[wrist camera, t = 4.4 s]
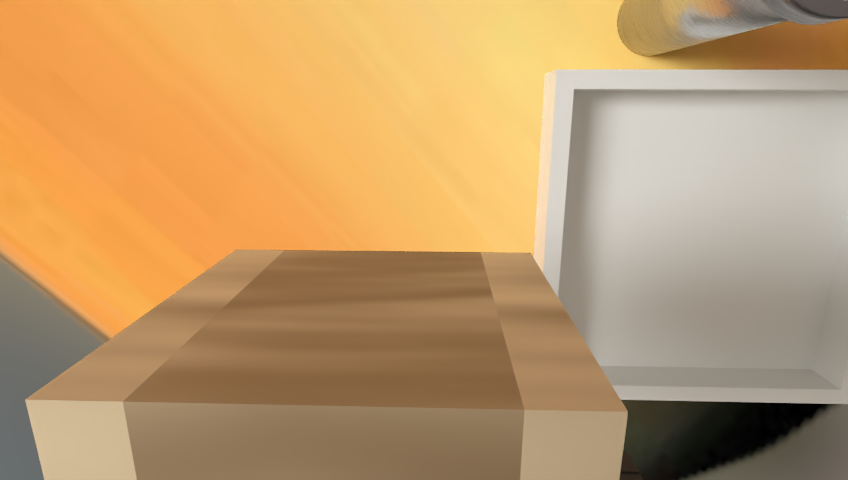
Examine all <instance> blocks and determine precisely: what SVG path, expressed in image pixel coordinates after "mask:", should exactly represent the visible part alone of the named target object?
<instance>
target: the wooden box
mask: <svg viewBox="0 0 848 480" xmlns="http://www.w3.org/2000/svg"><path fill="white" fill-rule="evenodd" d="M25 401H26V404H27V409H28V413H29V417H30V421H31V426H32V430H33V434H34V438H35V442H36V446H37V450H38V455H39V459H40V463H41V467H42V471H43V475H44V479H45V480H619V478H620V470H621V462H622V455H623V447H624V439H625V431H626V424H627V416H628V411H627V409H626V408H625V406H624V405H623V403H622V401H621V400H620V398H619V396H618V395H617V393H616V392H615V390H614V388H613V387H612V385H611V383H610V382H609V380H608V378H607V377H606V375H605V374H604V372H603V370H602V369H601V367H600V365H599V364H598V362H597V361H596V359H595V357H594V356H593V354H592V352H591V351H590V349H589V348H588V346H587V344H586V343H585V341H584V339H583V338H582V336H581V334H580V333H579V331H578V330H577V328H576V326H575V325H574V323H573V321H572V320H571V318H570V317H569V315H568V313H567V312H566V310H565V308H564V307H563V305H562V303H561V302H560V300H559V299H558V297H557V295H556V294H555V292H554V290H553V289H552V287H551V286H550V284H549V282H548V281H547V279H546V277H545V276H544V274H543V273H542V271H541V269H540V268H539V266H538V264H537V263H536V261H535V259H534V258H533V256H532V255H531V253H495V252H405V251H314V250H235V251H234V252H232V253H231V254H229V255H228V256H227V257H225V258H224V259H222V260H221V261H220V262H218V263H217V264H215V265H214V266H213V267H211V268H210V269H208V270H207V271H205V272H204V273H203V274H201V275H200V276H198V277H197V278H196V279H194V280H193V281H191V282H190V283H189V284H187V285H186V286H184V287H183V288H182V289H180V290H179V291H177V292H176V293H175V294H173V295H172V296H170V297H169V298H168V299H166V300H165V301H163V302H162V303H160V304H159V305H158V306H156V307H155V308H153V309H152V310H151V311H149V312H148V313H146V314H145V315H144V316H142V317H141V318H139V319H138V320H137V321H135V322H134V323H132V324H131V325H130V326H128V327H127V328H125V329H124V330H123V331H121V332H120V333H118V334H117V335H116V336H114V337H113V338H111V339H110V340H108V341H107V342H106V343H104V344H103V345H101V346H100V347H99V348H97V349H96V350H94V351H93V352H92V353H90V354H89V355H87V356H86V357H85V358H83V359H82V360H80V361H79V362H78V363H76V364H75V365H73V366H72V367H71V368H69V369H68V370H66V371H65V372H63V373H62V374H61V375H59V376H58V377H56V378H55V379H54V380H52V381H51V382H49V383H48V384H47V385H45V386H44V387H42V388H41V389H40V390H38V391H37V392H35V393H34V394H33V395H31V396H30V397H28V398H27V399H26V400H25Z"/></svg>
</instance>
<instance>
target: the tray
mask: <svg viewBox="0 0 848 480" xmlns="http://www.w3.org/2000/svg"><path fill="white" fill-rule="evenodd" d="M534 259H535V261H536V263H537V264H538V266H539V268H540V269H541V271H542V273H543V274H544V276H545V277H546V279H547V281H548V282H549V284H550V286H551V287H552V289H553V290H554V292H555V294H556V295H557V297H558V299H559V300H560V302H561V303H562V305H563V307H564V308H565V310H566V312H567V313H568V315H569V317H570V318H571V320H572V321H573V323H574V325H575V326H576V328H577V330H578V331H579V333H580V334H581V336H582V338H583V339H584V341H585V343H586V344H587V346H588V348H589V349H590V351H591V352H592V354H593V356H594V357H595V359H596V361H597V362H598V364H599V365H600V367H601V369H602V370H603V372H604V374H605V375H606V377H607V378H608V380H609V382H610V383H611V385H612V387H613V388H614V390H615V392H616V393H617V395H618V396H619V398H620V400H667V401H717V402H768V403H818V404H848V70H554V71H552V72H549V73H546V74H545V81H544V97H543V113H542V130H541V146H540V162H539V178H538V194H537V210H536V227H535V243H534Z"/></svg>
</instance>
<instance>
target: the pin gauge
mask: <svg viewBox="0 0 848 480" xmlns="http://www.w3.org/2000/svg"><path fill="white" fill-rule="evenodd" d="M843 19H848V0H624V2H623V3H622V5H621V7H620V10H619V13H618V19H617V28H618V33H619V36H620V38H621V40H622V42H623V44H624V45H625V46H626V47H627V48H628V49H629V50H630V51H632V52H634V53H636V54H638V55H642V56H654V55H658V54H662V53H666V52H670V51H674V50H678V49H681V48H685V47H689V46H693V45H697V44H701V43H704V42H708V41H712V40H716V39H720V38H724V37H727V36H731V35H735V34H739V33H743V32H746V31H750V30H754V29H758V28H762V27H766V26H769V25H773V24H777V23H781V22H785V21H791V22H794V23H799V24H806V25H818V24H825V23H830V22H835V21H839V20H843Z"/></svg>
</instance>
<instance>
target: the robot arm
mask: <svg viewBox="0 0 848 480" xmlns="http://www.w3.org/2000/svg"><path fill="white" fill-rule="evenodd" d="M619 480H643V478H642V476H641V475H639V471H638V469H637V467H636V465H635V464H634V462H633V460H632V458H631V456H630V455H629V454H627V453H626V452H625V451H624V450H623V455H622V462H621V470H620V478H619Z"/></svg>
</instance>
